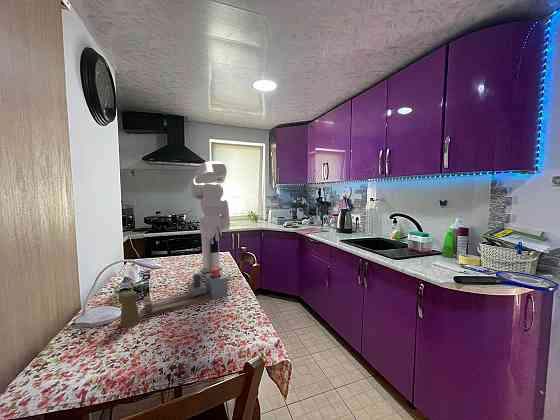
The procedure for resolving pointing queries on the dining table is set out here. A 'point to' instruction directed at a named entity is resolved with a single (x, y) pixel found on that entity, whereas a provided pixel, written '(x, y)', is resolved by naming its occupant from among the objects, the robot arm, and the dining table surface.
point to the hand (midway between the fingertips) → (214, 252)
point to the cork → (129, 309)
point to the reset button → (215, 272)
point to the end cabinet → (216, 285)
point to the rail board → (172, 303)
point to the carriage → (196, 286)
